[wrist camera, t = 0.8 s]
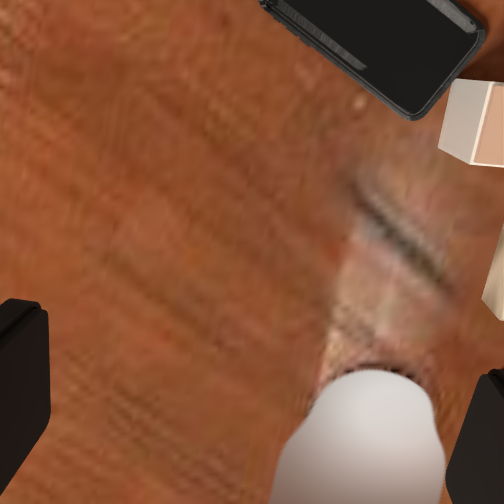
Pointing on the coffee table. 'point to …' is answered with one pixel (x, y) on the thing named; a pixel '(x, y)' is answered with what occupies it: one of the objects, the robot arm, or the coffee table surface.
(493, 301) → the block
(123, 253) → the coffee table surface
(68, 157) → the coffee table surface
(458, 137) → the peach rectangular block
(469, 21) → the phone
